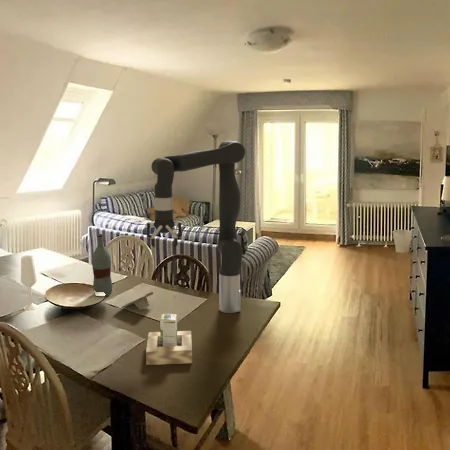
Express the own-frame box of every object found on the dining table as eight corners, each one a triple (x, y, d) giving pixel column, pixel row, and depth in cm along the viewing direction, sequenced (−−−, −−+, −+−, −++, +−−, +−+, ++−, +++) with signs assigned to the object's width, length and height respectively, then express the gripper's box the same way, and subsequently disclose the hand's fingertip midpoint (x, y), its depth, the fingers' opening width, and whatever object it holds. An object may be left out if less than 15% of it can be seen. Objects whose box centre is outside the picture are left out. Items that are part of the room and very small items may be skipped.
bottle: (112, 296, 237) (109, 236, 230) (93, 298, 235) (89, 237, 229) (112, 290, 246) (109, 232, 239) (94, 291, 244) (90, 232, 237)
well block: (191, 342, 189) (191, 330, 188) (192, 363, 173) (191, 350, 172) (149, 344, 187) (148, 332, 186) (146, 364, 172) (146, 351, 171)
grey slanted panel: (125, 325, 214) (150, 305, 211) (113, 309, 214) (138, 289, 211) (140, 316, 230) (163, 297, 227) (129, 302, 231) (152, 283, 228)
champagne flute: (41, 304, 227) (37, 254, 221) (36, 310, 220) (31, 258, 215) (26, 304, 226) (22, 254, 221) (21, 310, 220) (16, 258, 215)
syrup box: (161, 350, 183) (160, 313, 180) (177, 349, 183) (176, 313, 180) (160, 357, 177) (159, 319, 174) (176, 357, 177) (176, 319, 174)
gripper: (145, 210, 192) (146, 249, 196) (181, 209, 194) (182, 249, 197) (146, 206, 200) (147, 245, 203) (181, 206, 201) (182, 244, 204)
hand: (164, 247), depth 200 cm, fingers open, 8 cm apart
